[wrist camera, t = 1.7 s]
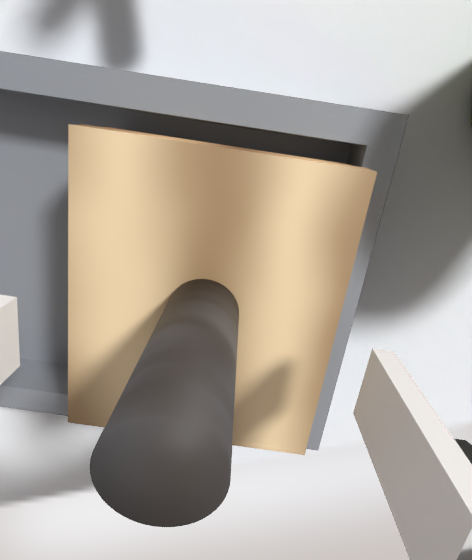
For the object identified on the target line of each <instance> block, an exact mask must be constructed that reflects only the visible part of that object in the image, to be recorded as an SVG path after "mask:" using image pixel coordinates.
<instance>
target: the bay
mask: <svg viewBox="0 0 472 560" xmlns="http://www.w3.org/2000/svg"><path fill="white" fill-rule="evenodd" d="M408 116H409V115H404V114H397V113H391V112H385V111H378V110H372V109H366V108H359V107H353V106H346V105H340V104H334V103H327V102H321V101H315V100H308V99H302V98H295V97H289V96H283V95H276V94H270V93H264V92H257V91H251V90H245V89H238V88H232V87H225V86H219V85H213V84H206V83H200V82H194V81H187V80H181V79H174V78H168V77H162V76H155V75H149V74H143V73H136V72H130V71H123V70H117V69H111V68H104V67H98V66H92V65H85V64H79V63H73V62H66V61H60V60H53V59H47V58H41V57H34V56H28V55H22V54H15V53H9V52H2V51H0V295H7V296H13V297H17V308H18V330H19V352H20V366H19V367H18V368H17V369H16V370H15V371H14V372H13V373H12V374H11V375H10V376H9V377H8V378H7V379H6V380H5V381H4V382H3V383H2V384H1V385H0V406H1V407H9V408H16V409H23V410H30V411H37V412H45V413H52V414H59V415H66V416H68V124H71V125H79V124H84V125H91V126H98V127H111V128H118V129H124V130H131V131H137V132H144V133H150V134H157V135H163V136H170V137H176V138H183V139H189V140H196V141H202V142H209V143H215V144H222V145H228V146H235V147H241V148H248V149H254V150H261V151H267V152H274V153H280V154H287V155H293V156H300V157H306V158H313V159H319V160H326V161H332V162H339V163H345V164H351V165H352V166H358V167H364V168H369V169H370V170H372V171H376V172H377V175H376V179H375V183H374V187H373V191H372V195H371V199H370V202H369V206H368V210H367V214H366V218H365V222H364V226H363V230H362V234H361V237H360V241H359V245H358V249H357V253H356V257H355V261H354V265H353V268H352V272H351V276H350V280H349V284H348V288H347V292H346V296H345V300H344V303H343V307H342V311H341V315H340V319H339V323H338V327H337V331H336V335H335V338H334V342H333V346H332V350H331V354H330V358H329V362H328V366H327V370H326V373H325V377H324V381H323V385H322V389H321V393H320V397H319V401H318V404H317V408H316V412H315V416H314V420H313V424H312V428H311V432H310V436H309V439H308V443H307V447H306V449H311V450H318V449H319V445H320V441H321V438H322V434H323V430H324V427H325V423H326V419H327V415H328V412H329V408H330V404H331V401H332V397H333V393H334V390H335V386H336V382H337V379H338V375H339V371H340V367H341V364H342V360H343V356H344V353H345V349H346V345H347V342H348V338H349V334H350V331H351V327H352V323H353V319H354V316H355V312H356V308H357V305H358V301H359V297H360V294H361V290H362V286H363V283H364V279H365V275H366V271H367V268H368V264H369V260H370V257H371V253H372V249H373V246H374V242H375V238H376V234H377V231H378V227H379V223H380V220H381V216H382V212H383V209H384V205H385V201H386V198H387V194H388V190H389V186H390V183H391V179H392V175H393V172H394V168H395V164H396V161H397V157H398V153H399V150H400V146H401V142H402V138H403V135H404V131H405V127H406V124H407V120H408Z"/></svg>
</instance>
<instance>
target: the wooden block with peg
mask: <svg viewBox="0 0 472 560" xmlns="http://www.w3.org/2000/svg"><path fill="white" fill-rule="evenodd" d="M376 175H377V172H376V171H372V170H370V169H369V168H364V167H358V166H352V165H351V164H345V163H339V162H332V161H326V160H319V159H313V158H306V157H300V156H293V155H287V154H280V153H274V152H267V151H261V150H254V149H248V148H241V147H235V146H228V145H222V144H215V143H209V142H202V141H196V140H189V139H183V138H176V137H170V136H163V135H157V134H150V133H144V132H137V131H131V130H124V129H118V128H111V127H98V126H91V125H84V124H79V125H71V124H68V422H70V423H77V424H84V425H92V426H99V427H105V428H104V430H103V432H102V434H101V436H100V438H99V440H98V442H97V444H96V446H95V448H94V450H93V453H92V456H91V461H90V474H91V478H92V481H93V484H94V487H95V488H96V490H97V492H98V494H99V495H100V496H101V498H102V499H103V500H104V501H105V502H106V503H107V504H108V505H109V506H110V507H111V508H113V509H114V510H115V511H116V512H118V513H119V514H121V515H123V516H125V517H127V518H129V519H131V520H133V521H136V522H138V523H142V524H146V525H151V526H159V527H175V526H183V525H187V524H191V523H194V522H197V521H199V520H201V519H203V518H205V517H206V516H208V515H210V514H211V513H212V512H213V511H215V510H216V509H217V508H218V507H219V506H220V504H221V503H222V502H223V500H224V499H225V497H226V494H227V492H228V489H229V485H230V476H231V475H230V474H231V457H232V445H236V446H243V447H251V448H258V449H265V450H272V451H279V452H287V453H294V454H301V455H305V451H306V447H307V443H308V439H309V436H310V432H311V428H312V424H313V420H314V416H315V412H316V408H317V404H318V401H319V397H320V393H321V389H322V385H323V381H324V377H325V373H326V370H327V366H328V362H329V358H330V354H331V350H332V346H333V342H334V338H335V335H336V331H337V327H338V323H339V319H340V315H341V311H342V307H343V303H344V300H345V296H346V292H347V288H348V284H349V280H350V276H351V272H352V268H353V265H354V261H355V257H356V253H357V249H358V245H359V241H360V237H361V234H362V230H363V226H364V222H365V218H366V214H367V210H368V206H369V202H370V199H371V195H372V191H373V187H374V183H375V179H376Z"/></svg>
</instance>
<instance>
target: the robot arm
mask: <svg viewBox="0 0 472 560" xmlns="http://www.w3.org/2000/svg"><path fill="white" fill-rule="evenodd" d="M19 366H20V352H19V330H18V308H17V297H13V296H7V295H0V385H1V384H2V383H3V382H4V381H5V380H6V379H7V378H8V377H9V376H10V375H11V374H12V373H13V372H14V371H15V370H16V369H17V368H18V367H19ZM353 413H354V416H355V419H356V421H357V424H358V426H359V429H360V432H361V434H362V437H363V439H364V442H365V445H366V447H367V450H368V452H369V455H370V458H371V460H372V462H373V465H374V468H375V471H376V473H377V476H378V478H379V481H380V483H381V486H382V489H383V491H384V494H385V496H386V499H387V501H388V504H389V507H390V509H391V512H392V515H393V517H394V520H395V522H396V525H397V528H398V530H399V532H400V535H401V538H402V540H403V543H404V546H405V548H406V551H407V553H408V556H409V559H410V560H472V445H471V444H469V443H468V442H467V441H465V440H459V439H454V438H453V437H452V435H451V434H450V432H449V431H448V429H447V428H446V426H445V425H444V424H443V422H442V421H441V419H440V418H439V416H438V415H437V413H436V412H435V411H434V409H433V408H432V406H431V405H430V403H429V402H428V400H427V399H426V398H425V396H424V395H423V393H422V392H421V390H420V389H419V387H418V386H417V385H416V383H415V382H414V380H413V379H412V377H411V376H410V374H409V373H408V372H407V370H406V369H405V367H404V366H403V364H402V363H401V361H400V360H399V359H398V357H397V356H396V354H395V353H394V352H392V351H385V350H378V349H372V352H371V355H370V359H369V362H368V365H367V369H366V372H365V375H364V379H363V382H362V385H361V389H360V392H359V396H358V399H357V402H356V406H355V409H354V412H353Z"/></svg>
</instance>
